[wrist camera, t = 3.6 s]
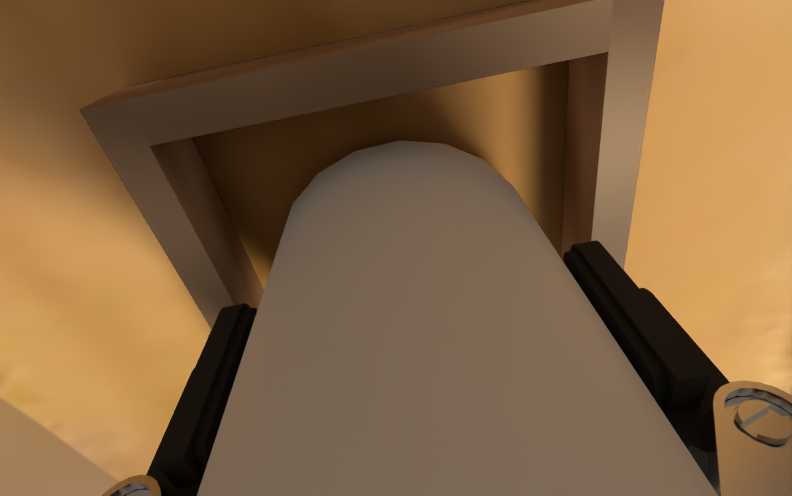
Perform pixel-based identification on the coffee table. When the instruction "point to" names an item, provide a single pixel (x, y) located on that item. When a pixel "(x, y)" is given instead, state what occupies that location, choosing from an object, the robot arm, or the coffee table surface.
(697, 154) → the coffee table surface
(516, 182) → the coffee table surface
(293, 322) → the can
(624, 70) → the wooden picture frame
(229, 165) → the coffee table surface
